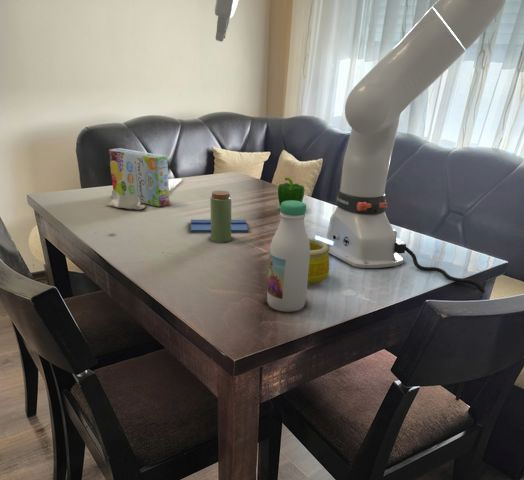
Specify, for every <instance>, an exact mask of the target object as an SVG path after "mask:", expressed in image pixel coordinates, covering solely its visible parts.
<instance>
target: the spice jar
mask: <svg viewBox="0 0 524 480" xmlns="http://www.w3.org/2000/svg"><path fill="white" fill-rule="evenodd" d="M209 199H210V203H209V206H210V220H211V232H210V239H211V241H212V242H215V243H228V242H230V241H231V240H232V232H231V220H232V197H231V192H230V191H227V190H213V191H212V192H211V196H210V197H209Z"/></svg>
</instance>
